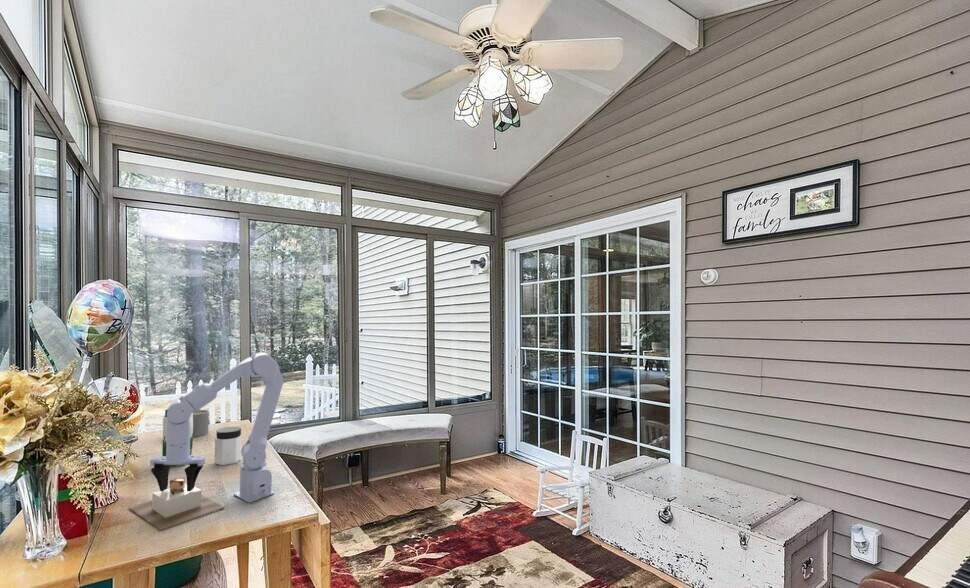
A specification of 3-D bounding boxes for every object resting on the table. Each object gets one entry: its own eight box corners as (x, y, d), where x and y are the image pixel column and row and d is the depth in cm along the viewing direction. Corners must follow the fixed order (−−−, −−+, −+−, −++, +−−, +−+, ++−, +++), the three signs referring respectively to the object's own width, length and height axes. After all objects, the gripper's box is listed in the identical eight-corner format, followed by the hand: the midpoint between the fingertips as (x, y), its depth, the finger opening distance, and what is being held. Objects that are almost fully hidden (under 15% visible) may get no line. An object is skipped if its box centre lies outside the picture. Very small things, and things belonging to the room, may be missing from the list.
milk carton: (166, 460, 169) (167, 407, 169) (194, 457, 172) (195, 405, 173) (159, 468, 161) (160, 412, 161) (188, 465, 164) (190, 410, 165)
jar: (214, 467, 163) (215, 433, 163) (213, 460, 170) (214, 428, 170) (242, 462, 168) (243, 430, 168) (240, 456, 175) (241, 425, 175)
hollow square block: (200, 505, 131) (201, 489, 131) (165, 517, 124) (165, 500, 124) (186, 497, 136) (187, 482, 137) (152, 508, 129) (152, 492, 129)
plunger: (186, 504, 131) (187, 479, 131) (172, 509, 128) (173, 483, 128) (180, 501, 133) (181, 476, 133) (167, 506, 130) (167, 480, 130)
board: (224, 508, 131) (224, 507, 131) (160, 531, 117) (160, 529, 117) (190, 490, 143) (190, 488, 143) (128, 508, 130) (128, 507, 130)
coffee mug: (210, 430, 209) (210, 408, 209) (206, 436, 200) (206, 413, 200) (176, 433, 204) (176, 411, 204) (170, 439, 195) (171, 416, 195)
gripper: (211, 438, 135) (210, 484, 135) (162, 438, 134) (161, 484, 134) (197, 446, 128) (196, 494, 127) (145, 446, 127) (144, 494, 127)
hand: (177, 489), depth 130 cm, fingers open, 7 cm apart
